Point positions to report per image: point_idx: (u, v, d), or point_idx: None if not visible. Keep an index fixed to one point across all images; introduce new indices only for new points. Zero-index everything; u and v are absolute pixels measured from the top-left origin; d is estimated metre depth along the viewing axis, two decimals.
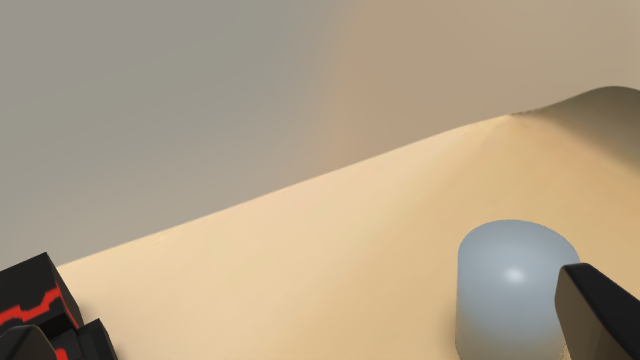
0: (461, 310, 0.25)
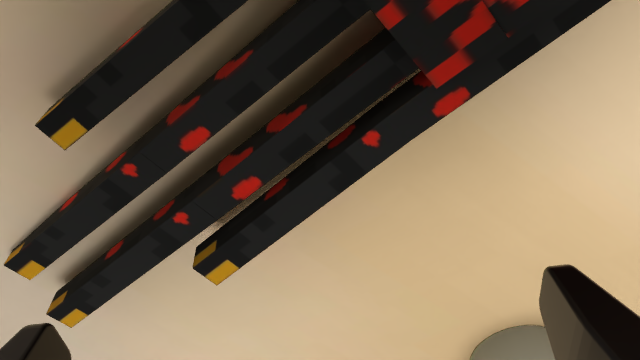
0: None
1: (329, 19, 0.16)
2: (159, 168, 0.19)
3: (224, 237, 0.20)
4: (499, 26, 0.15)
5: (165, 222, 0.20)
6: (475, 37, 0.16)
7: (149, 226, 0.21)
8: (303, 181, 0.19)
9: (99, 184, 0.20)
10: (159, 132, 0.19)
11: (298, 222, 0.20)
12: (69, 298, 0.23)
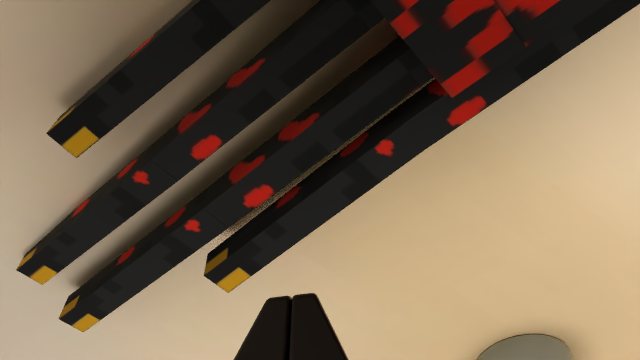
0: None
1: (342, 28, 0.16)
2: (170, 176, 0.19)
3: (235, 245, 0.20)
4: (517, 35, 0.15)
5: (176, 230, 0.20)
6: (492, 46, 0.15)
7: (161, 233, 0.21)
8: (315, 190, 0.18)
9: (110, 191, 0.20)
10: (170, 140, 0.18)
11: (310, 230, 0.19)
12: (81, 303, 0.23)
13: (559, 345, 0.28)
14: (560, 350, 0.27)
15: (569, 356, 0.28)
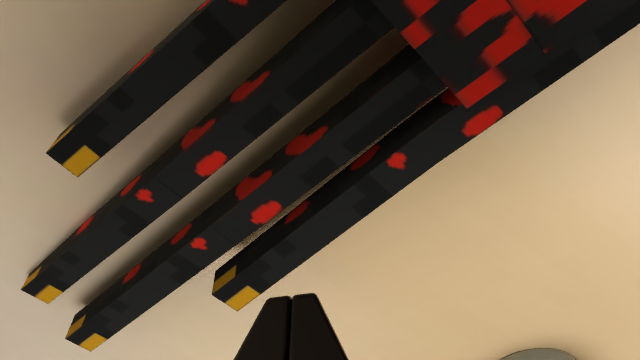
0: None
1: (350, 38, 0.15)
2: (175, 193, 0.19)
3: (244, 262, 0.19)
4: (535, 42, 0.14)
5: (182, 248, 0.19)
6: (509, 54, 0.14)
7: (167, 251, 0.20)
8: (325, 205, 0.18)
9: (114, 210, 0.19)
10: (174, 157, 0.18)
11: (321, 247, 0.19)
12: (88, 323, 0.22)
13: (569, 359, 0.27)
14: None
15: None
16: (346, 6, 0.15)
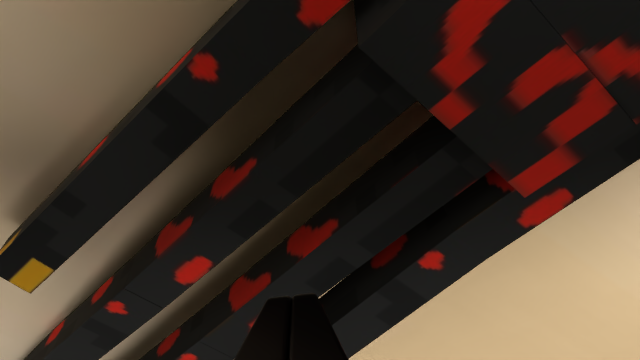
0: None
1: (360, 116, 0.11)
2: (153, 304, 0.15)
3: None
4: (622, 110, 0.10)
5: None
6: (584, 127, 0.10)
7: None
8: (341, 316, 0.14)
9: (82, 323, 0.16)
10: (146, 264, 0.14)
11: None
12: None
13: None
14: None
15: None
16: (352, 75, 0.11)
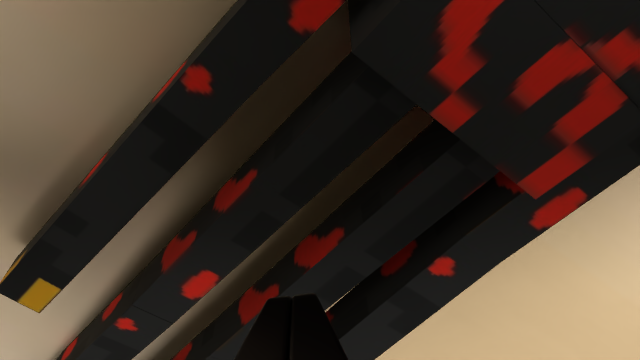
0: None
1: (359, 122, 0.11)
2: (162, 319, 0.15)
3: None
4: (634, 104, 0.10)
5: None
6: (594, 125, 0.10)
7: None
8: (353, 326, 0.13)
9: (93, 340, 0.16)
10: (153, 280, 0.14)
11: None
12: None
13: None
14: None
15: None
16: (348, 81, 0.10)
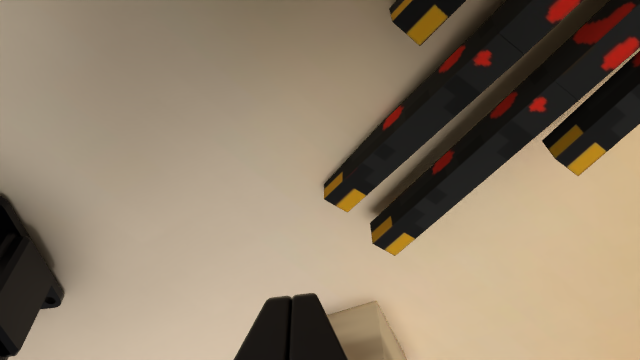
0: None
1: None
2: (517, 50, 0.18)
3: (588, 118, 0.18)
4: None
5: (519, 114, 0.19)
6: None
7: (492, 124, 0.19)
8: None
9: (444, 83, 0.19)
10: (523, 5, 0.17)
11: None
12: (399, 221, 0.22)
13: None
14: None
15: None
16: None
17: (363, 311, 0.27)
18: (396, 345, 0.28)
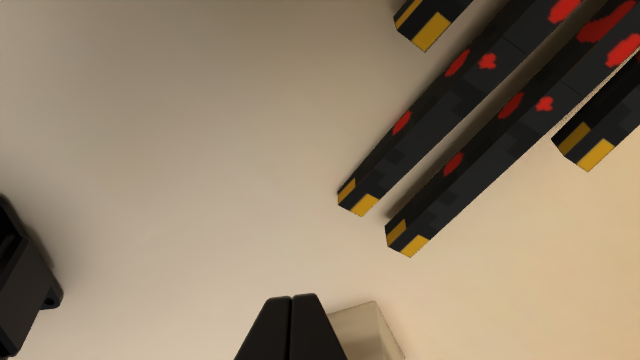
0: None
1: None
2: (521, 51, 0.18)
3: (595, 115, 0.18)
4: None
5: (526, 113, 0.19)
6: None
7: (500, 125, 0.20)
8: None
9: (450, 87, 0.19)
10: (525, 7, 0.17)
11: None
12: (413, 224, 0.22)
13: None
14: None
15: None
16: None
17: (362, 310, 0.27)
18: (395, 345, 0.29)
